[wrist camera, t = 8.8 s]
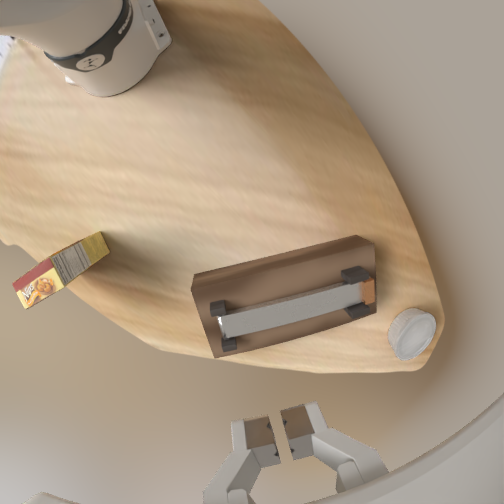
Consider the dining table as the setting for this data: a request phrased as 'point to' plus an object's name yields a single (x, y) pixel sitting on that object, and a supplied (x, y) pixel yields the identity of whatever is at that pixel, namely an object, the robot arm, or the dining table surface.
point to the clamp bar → (295, 308)
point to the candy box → (59, 269)
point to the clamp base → (283, 290)
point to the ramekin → (411, 333)
